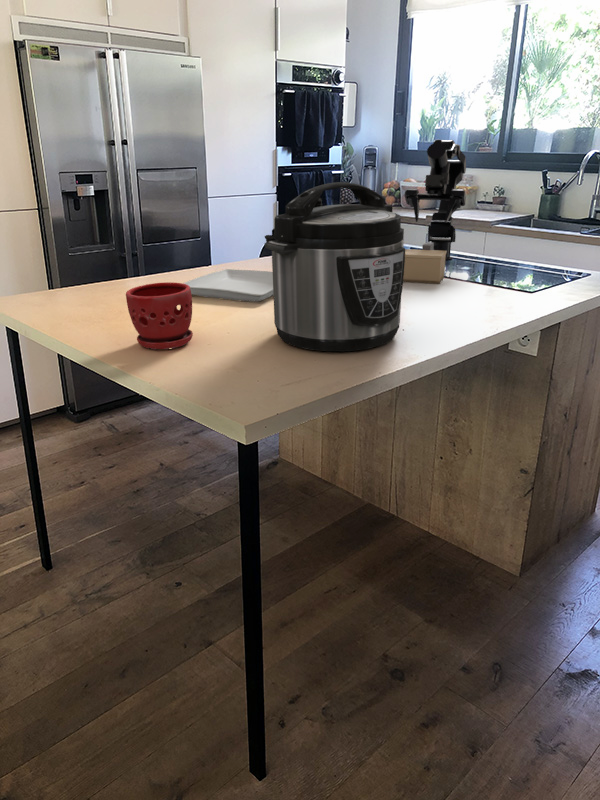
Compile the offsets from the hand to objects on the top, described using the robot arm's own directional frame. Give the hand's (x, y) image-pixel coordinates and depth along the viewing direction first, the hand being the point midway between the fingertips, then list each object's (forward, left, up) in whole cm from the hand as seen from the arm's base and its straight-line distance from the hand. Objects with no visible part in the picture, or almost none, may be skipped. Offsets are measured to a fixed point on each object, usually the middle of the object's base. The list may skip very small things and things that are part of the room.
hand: (430, 221), depth 201 cm
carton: (+10, +11, -15) cm, 22 cm away
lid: (+8, +9, -9) cm, 15 cm away
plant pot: (+97, +41, -16) cm, 106 cm away
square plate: (+64, 0, -16) cm, 66 cm away
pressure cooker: (+62, +54, -16) cm, 84 cm away
